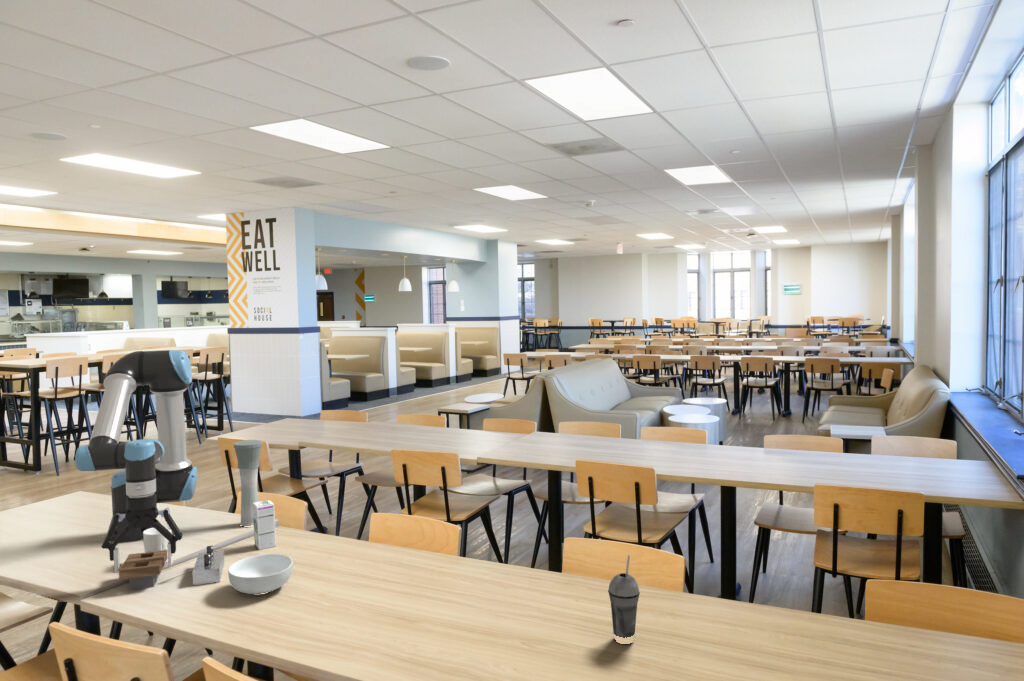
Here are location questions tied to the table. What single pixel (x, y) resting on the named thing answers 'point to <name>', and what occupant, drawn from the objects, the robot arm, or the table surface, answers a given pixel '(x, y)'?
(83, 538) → the table surface
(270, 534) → the syrup box
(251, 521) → the container
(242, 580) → the cereal bowl
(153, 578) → the riser
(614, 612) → the beverage cup
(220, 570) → the chassis
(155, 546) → the white cup
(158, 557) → the board
